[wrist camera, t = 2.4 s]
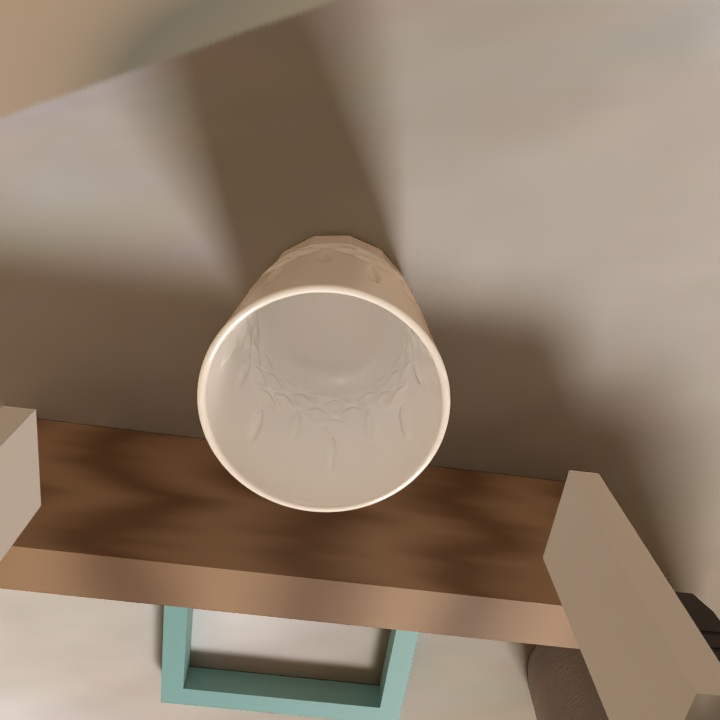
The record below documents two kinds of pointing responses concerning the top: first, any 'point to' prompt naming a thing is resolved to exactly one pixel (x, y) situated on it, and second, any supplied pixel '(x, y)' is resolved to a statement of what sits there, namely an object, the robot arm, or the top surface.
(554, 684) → the pillar candle
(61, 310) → the top surface
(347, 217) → the top surface
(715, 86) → the top surface
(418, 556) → the brown wooden board
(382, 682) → the keeper frame
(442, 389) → the white cup
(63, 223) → the top surface
